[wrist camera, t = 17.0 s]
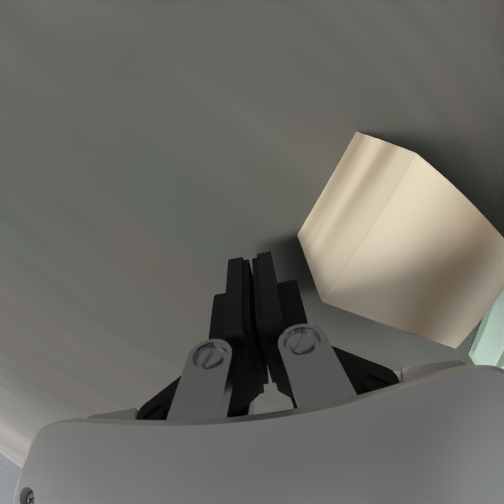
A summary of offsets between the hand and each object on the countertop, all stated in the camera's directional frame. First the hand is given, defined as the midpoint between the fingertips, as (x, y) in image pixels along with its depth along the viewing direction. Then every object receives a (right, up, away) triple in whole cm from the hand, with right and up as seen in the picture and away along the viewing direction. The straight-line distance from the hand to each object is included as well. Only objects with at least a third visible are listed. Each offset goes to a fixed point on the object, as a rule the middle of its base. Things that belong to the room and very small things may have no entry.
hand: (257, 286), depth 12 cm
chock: (+6, +3, +1) cm, 7 cm away
